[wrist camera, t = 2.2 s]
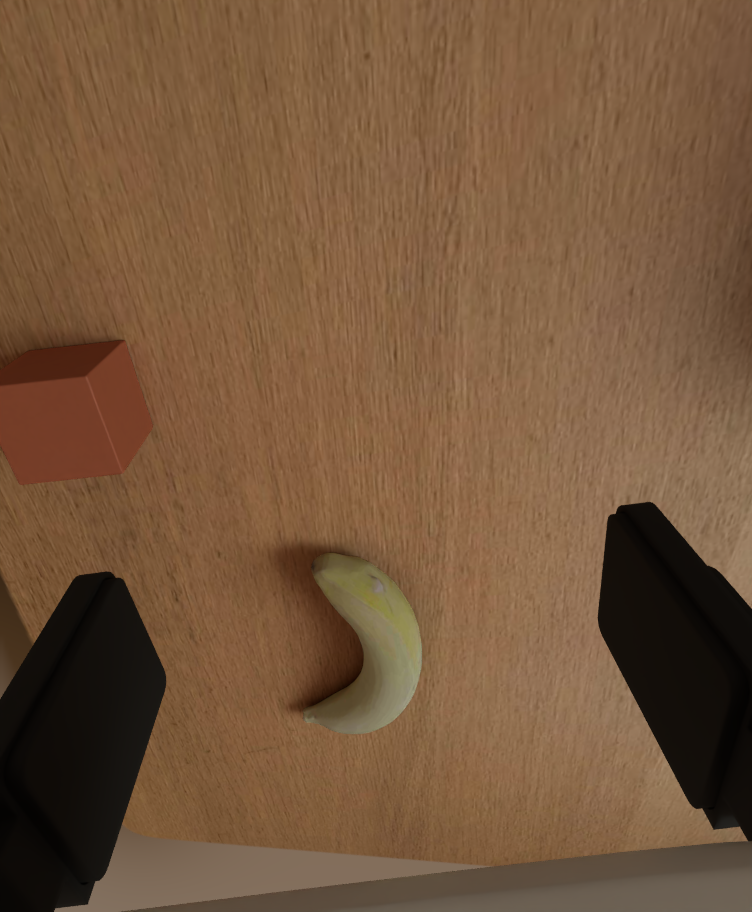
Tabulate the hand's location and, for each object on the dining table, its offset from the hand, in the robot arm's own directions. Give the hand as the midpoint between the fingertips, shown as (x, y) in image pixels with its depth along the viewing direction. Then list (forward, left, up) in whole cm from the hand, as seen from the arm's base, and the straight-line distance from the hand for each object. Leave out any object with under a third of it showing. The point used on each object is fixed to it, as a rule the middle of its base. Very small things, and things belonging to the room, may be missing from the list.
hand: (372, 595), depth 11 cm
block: (+2, -13, -17) cm, 22 cm away
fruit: (+20, -3, -18) cm, 26 cm away
